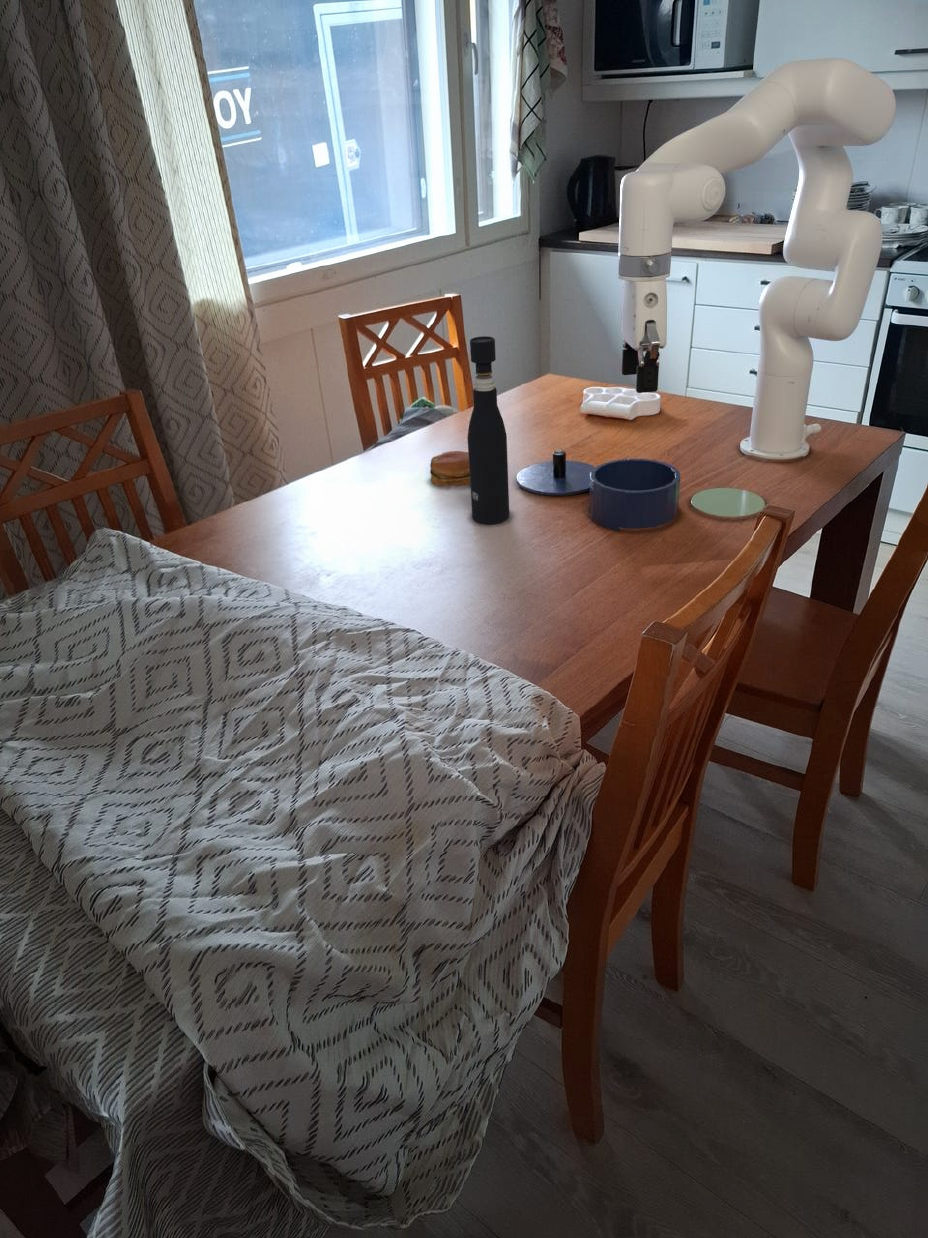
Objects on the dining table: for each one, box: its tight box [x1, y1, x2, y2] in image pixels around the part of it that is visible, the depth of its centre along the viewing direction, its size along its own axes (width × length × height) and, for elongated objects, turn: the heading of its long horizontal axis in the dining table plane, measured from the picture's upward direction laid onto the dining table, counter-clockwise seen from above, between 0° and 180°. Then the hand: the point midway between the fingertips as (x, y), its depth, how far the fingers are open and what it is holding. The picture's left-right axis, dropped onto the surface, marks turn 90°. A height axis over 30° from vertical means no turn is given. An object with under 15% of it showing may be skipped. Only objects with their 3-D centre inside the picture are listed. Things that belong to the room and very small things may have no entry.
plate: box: [690, 487, 766, 518], centre depth 146 cm, size 12×12×1 cm
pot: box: [589, 458, 681, 532], centre depth 144 cm, size 15×15×7 cm
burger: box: [429, 450, 470, 488], centre depth 162 cm, size 10×9×5 cm
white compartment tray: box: [579, 386, 662, 421], centre depth 191 cm, size 3×18×15 cm
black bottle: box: [467, 335, 510, 526], centre depth 140 cm, size 6×6×30 cm
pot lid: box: [516, 450, 596, 496], centre depth 158 cm, size 16×16×6 cm
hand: (639, 382), depth 134 cm, fingers open, 9 cm apart
